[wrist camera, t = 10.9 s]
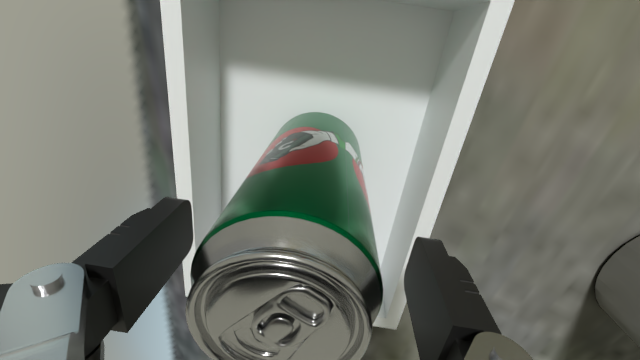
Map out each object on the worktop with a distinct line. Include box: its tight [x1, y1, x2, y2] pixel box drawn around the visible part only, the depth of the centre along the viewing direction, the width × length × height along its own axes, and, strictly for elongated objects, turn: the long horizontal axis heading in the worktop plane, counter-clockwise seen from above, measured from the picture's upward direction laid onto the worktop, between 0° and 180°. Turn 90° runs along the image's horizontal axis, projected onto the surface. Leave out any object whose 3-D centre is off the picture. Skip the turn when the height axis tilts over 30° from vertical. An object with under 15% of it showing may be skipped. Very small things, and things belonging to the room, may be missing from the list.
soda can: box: [186, 112, 383, 360], centre depth 12 cm, size 5×5×12 cm
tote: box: [160, 0, 515, 330], centre depth 16 cm, size 13×18×4 cm
